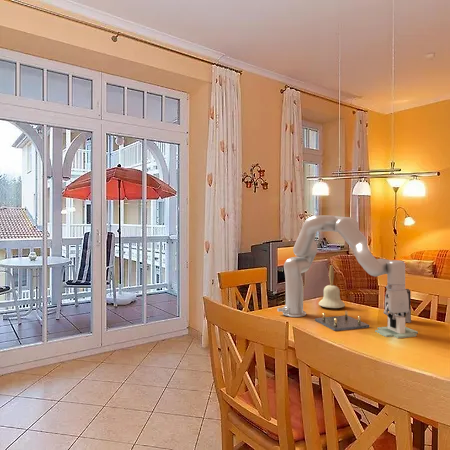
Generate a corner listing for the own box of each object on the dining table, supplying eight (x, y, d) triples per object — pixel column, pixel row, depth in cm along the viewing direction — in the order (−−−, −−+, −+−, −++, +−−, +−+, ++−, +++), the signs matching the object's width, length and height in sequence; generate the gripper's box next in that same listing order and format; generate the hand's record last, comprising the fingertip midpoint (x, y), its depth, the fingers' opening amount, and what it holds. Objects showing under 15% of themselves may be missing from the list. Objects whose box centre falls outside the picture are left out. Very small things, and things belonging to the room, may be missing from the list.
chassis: (334, 331, 179) (334, 321, 179) (314, 320, 198) (314, 311, 198) (369, 327, 184) (369, 317, 184) (346, 317, 203) (346, 308, 203)
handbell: (331, 311, 215) (331, 267, 215) (312, 306, 229) (312, 264, 228) (350, 308, 223) (350, 265, 222) (331, 303, 236) (331, 262, 235)
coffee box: (409, 319, 197) (409, 288, 197) (411, 323, 191) (411, 291, 191) (390, 318, 200) (390, 287, 200) (391, 321, 194) (391, 290, 194)
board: (391, 339, 167) (391, 321, 167) (370, 330, 180) (370, 313, 180) (423, 335, 172) (423, 318, 171) (400, 327, 185) (400, 310, 185)
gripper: (386, 289, 170) (386, 330, 170) (417, 287, 174) (417, 327, 175) (375, 287, 177) (375, 326, 177) (405, 284, 181) (405, 323, 182)
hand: (396, 326), depth 176 cm, fingers closed on board, 3 cm apart
